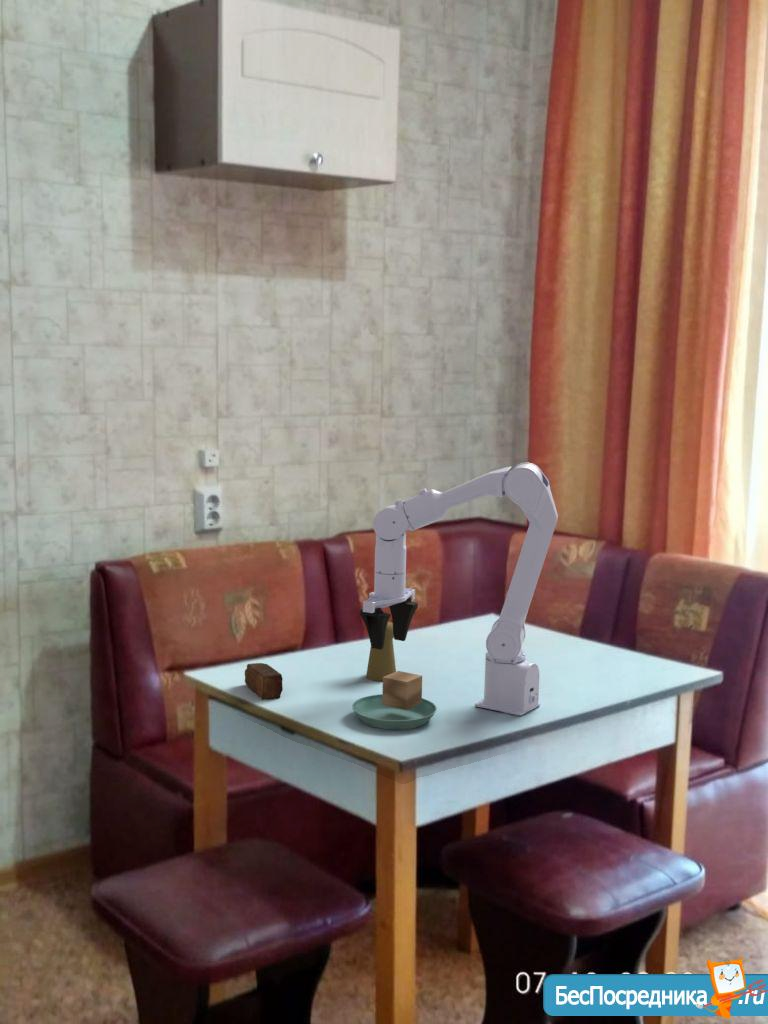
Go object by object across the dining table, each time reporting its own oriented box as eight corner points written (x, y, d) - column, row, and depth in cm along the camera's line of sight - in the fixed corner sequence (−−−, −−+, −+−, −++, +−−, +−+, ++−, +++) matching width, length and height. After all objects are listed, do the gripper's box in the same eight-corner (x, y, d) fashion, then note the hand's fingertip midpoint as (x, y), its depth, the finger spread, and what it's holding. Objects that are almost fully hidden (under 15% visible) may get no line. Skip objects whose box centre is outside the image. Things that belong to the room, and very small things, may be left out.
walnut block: (421, 703, 208) (422, 675, 208) (406, 710, 204) (407, 682, 203) (397, 698, 211) (398, 670, 210) (382, 704, 207) (382, 677, 206)
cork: (360, 678, 231) (361, 623, 229) (375, 670, 236) (376, 617, 234) (387, 682, 228) (389, 627, 226) (402, 675, 233) (403, 620, 232)
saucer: (338, 727, 202) (338, 712, 202) (371, 703, 216) (372, 689, 216) (418, 740, 197) (418, 724, 197) (448, 714, 210) (448, 700, 210)
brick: (283, 699, 217) (283, 674, 216) (262, 701, 215) (262, 676, 215) (263, 683, 226) (264, 659, 226) (244, 685, 225) (244, 661, 224)
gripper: (393, 563, 224) (391, 633, 226) (349, 574, 212) (348, 648, 214) (425, 567, 220) (423, 638, 222) (382, 579, 208) (380, 655, 210)
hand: (388, 644), depth 218 cm, fingers open, 7 cm apart
